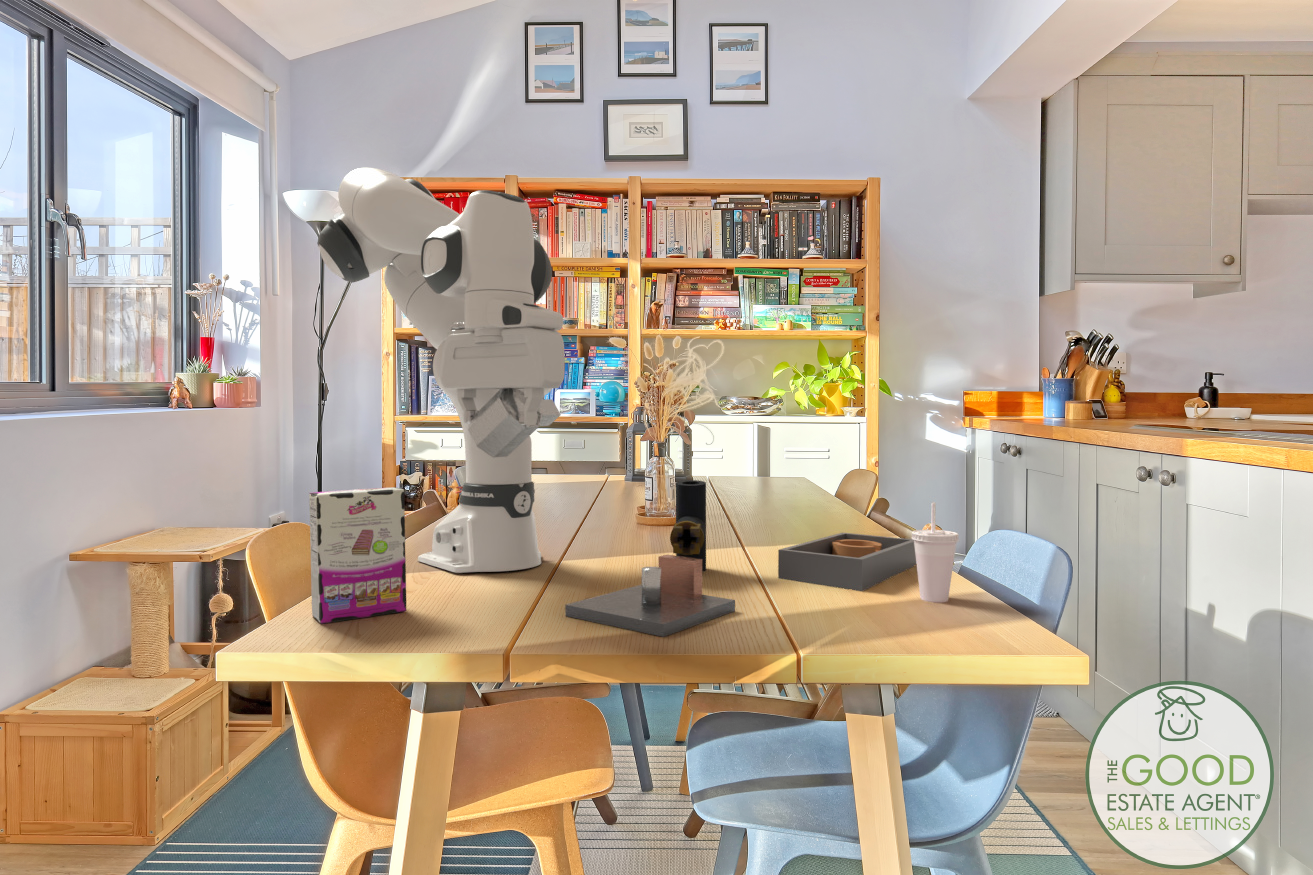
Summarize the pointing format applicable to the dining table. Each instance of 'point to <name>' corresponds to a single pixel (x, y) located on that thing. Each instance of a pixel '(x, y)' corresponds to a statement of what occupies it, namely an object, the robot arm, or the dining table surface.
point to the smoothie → (934, 560)
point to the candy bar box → (357, 553)
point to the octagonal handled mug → (507, 422)
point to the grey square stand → (656, 600)
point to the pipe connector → (690, 521)
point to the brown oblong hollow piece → (855, 547)
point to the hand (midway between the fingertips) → (499, 424)
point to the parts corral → (845, 562)
